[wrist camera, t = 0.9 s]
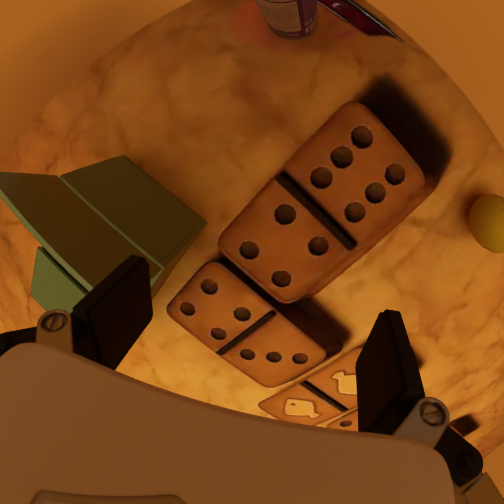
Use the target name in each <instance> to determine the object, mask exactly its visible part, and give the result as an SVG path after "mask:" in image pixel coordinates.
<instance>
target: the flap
mask: <svg viewBox="0 0 504 504" xmlns="http://www.w3.org/2000/svg"><path fill="white" fill-rule="evenodd" d="M0 197H1V198H2V200H3V201H4V202H5V203H6V205H7V206H8V207H9V208H10V209H11V211H12V212H13V213H14V214H15V215H16V217H17V218H18V219H19V220H20V221H21V222H22V224H23V225H24V226H25V227H26V228H27V229H28V230H29V232H30V233H31V234H32V235H33V236H34V237H35V238H36V239H37V240H38V241H39V243H40V244H41V245H42V246H43V247H44V248H45V249H46V250H47V251H48V252H49V253H50V254H51V255H52V256H53V257H54V258H55V259H56V260H57V261H58V262H59V263H60V264H61V265H62V266H63V267H64V268H65V269H66V270H67V271H68V272H69V273H70V274H71V275H72V276H73V277H74V278H75V279H76V280H77V281H78V282H79V283H80V284H82V285H83V286H84V287H85V288H86V289H87V290H88V291H89V292H90V291H91V290H92V289H93V288H94V287H95V286H96V285H97V284H99V283H100V282H101V281H102V280H103V279H104V278H105V277H106V276H107V275H109V274H110V273H111V272H112V271H113V270H114V269H115V268H116V267H118V266H119V265H120V264H121V263H122V262H123V261H125V260H126V259H127V258H128V257H129V256H130V255H137V256H141V257H144V258H145V259H146V262H148V263H149V269H150V280H151V279H153V278H154V277H155V276H156V275H157V274H158V273H159V272H160V271H161V270H162V268H161V267H159V266H158V265H157V264H156V263H154V262H153V261H152V260H151V259H150V258H148V257H147V256H146V255H145V254H144V253H142V252H141V251H140V250H139V249H138V248H136V247H135V246H134V245H133V244H132V243H130V242H129V241H128V240H127V239H126V238H125V237H123V236H122V235H121V234H120V233H119V232H118V231H116V230H115V229H114V228H113V227H112V226H111V225H110V224H108V223H107V222H106V221H105V220H104V219H103V218H102V217H101V216H100V215H98V214H97V213H96V212H95V211H94V210H93V209H92V208H91V207H90V206H88V205H87V204H86V203H85V202H84V201H83V200H82V199H81V198H80V197H79V196H78V195H77V194H75V193H74V192H73V191H72V190H71V189H70V188H69V187H68V186H67V185H66V184H65V183H64V182H63V181H62V180H61V179H60V178H59V177H58V176H56V175H43V174H28V173H11V172H0Z"/></svg>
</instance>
